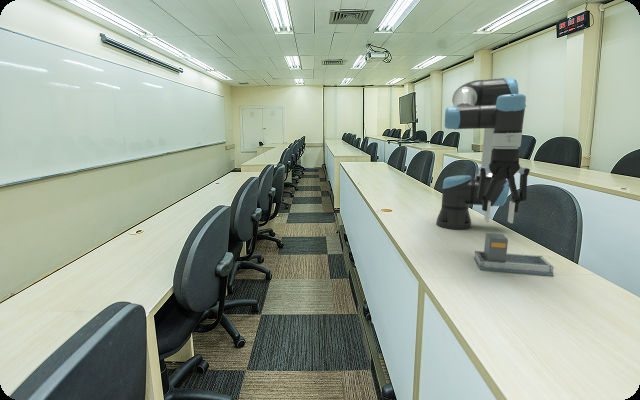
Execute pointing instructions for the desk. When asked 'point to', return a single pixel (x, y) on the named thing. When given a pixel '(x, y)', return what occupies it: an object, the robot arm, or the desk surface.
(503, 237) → the block
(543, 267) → the shallow grey tray
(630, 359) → the desk surface
